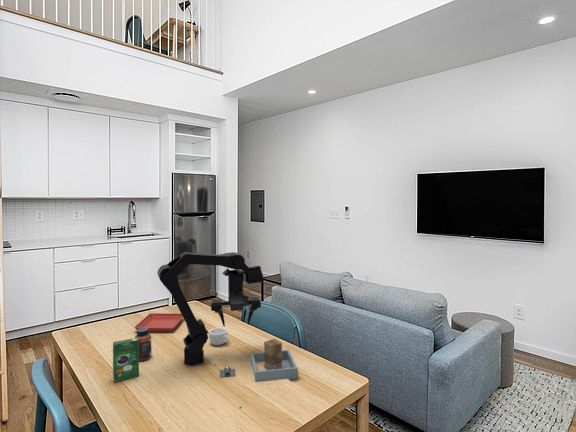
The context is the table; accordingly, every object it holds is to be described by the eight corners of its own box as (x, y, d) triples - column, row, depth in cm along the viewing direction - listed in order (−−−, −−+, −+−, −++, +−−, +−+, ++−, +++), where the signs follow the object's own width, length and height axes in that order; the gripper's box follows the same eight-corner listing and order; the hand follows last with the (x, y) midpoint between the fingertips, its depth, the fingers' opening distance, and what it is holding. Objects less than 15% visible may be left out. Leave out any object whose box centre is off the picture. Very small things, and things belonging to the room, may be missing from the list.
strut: (271, 374, 125) (271, 346, 124) (264, 368, 128) (264, 341, 127) (281, 370, 127) (281, 342, 126) (274, 365, 131) (274, 338, 130)
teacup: (205, 344, 150) (204, 331, 150) (218, 338, 157) (218, 326, 156) (221, 350, 144) (221, 337, 144) (235, 343, 151) (235, 331, 150)
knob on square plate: (219, 380, 121) (219, 371, 121) (219, 372, 127) (219, 363, 126) (235, 379, 122) (235, 369, 122) (234, 371, 128) (234, 362, 127)
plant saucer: (173, 334, 161) (173, 327, 161) (133, 334, 162) (133, 327, 161) (185, 319, 179) (185, 313, 179) (149, 319, 180) (149, 313, 179)
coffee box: (138, 372, 127) (137, 336, 126) (140, 376, 124) (138, 339, 124) (113, 379, 122) (111, 341, 122) (114, 382, 120) (113, 344, 119)
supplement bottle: (155, 356, 139) (154, 327, 138) (143, 363, 134) (142, 333, 133) (143, 353, 142) (143, 325, 141) (131, 359, 136) (130, 330, 135)
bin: (255, 384, 119) (255, 372, 119) (250, 363, 133) (250, 353, 133) (297, 379, 122) (297, 368, 122) (288, 359, 136) (288, 349, 136)
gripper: (210, 293, 128) (211, 335, 129) (262, 290, 132) (262, 331, 133) (210, 285, 139) (211, 324, 140) (258, 282, 143) (259, 320, 144)
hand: (236, 325), depth 139 cm, fingers open, 9 cm apart
